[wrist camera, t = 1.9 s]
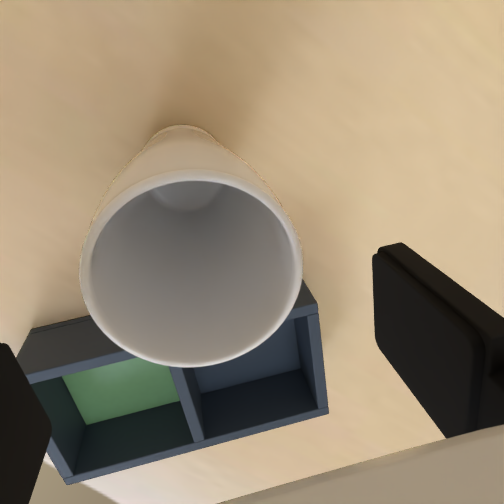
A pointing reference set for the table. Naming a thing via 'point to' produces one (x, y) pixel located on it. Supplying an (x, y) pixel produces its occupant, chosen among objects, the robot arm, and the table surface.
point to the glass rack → (167, 393)
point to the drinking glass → (189, 254)
